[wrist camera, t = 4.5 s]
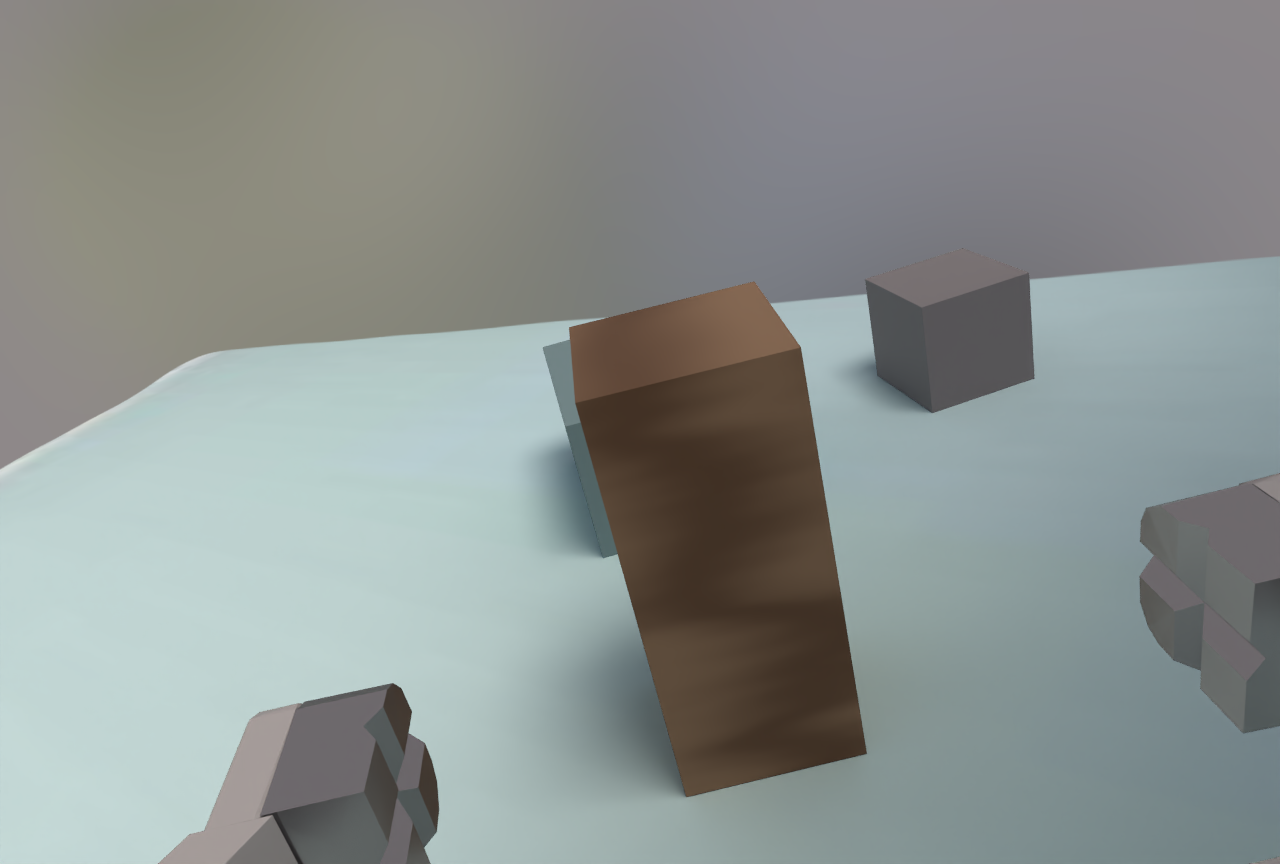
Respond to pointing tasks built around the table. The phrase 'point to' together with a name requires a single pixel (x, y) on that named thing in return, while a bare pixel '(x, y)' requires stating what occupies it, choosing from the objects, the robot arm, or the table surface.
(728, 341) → the walnut block
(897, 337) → the charcoal cube
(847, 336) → the table surface
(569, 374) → the teal base block
